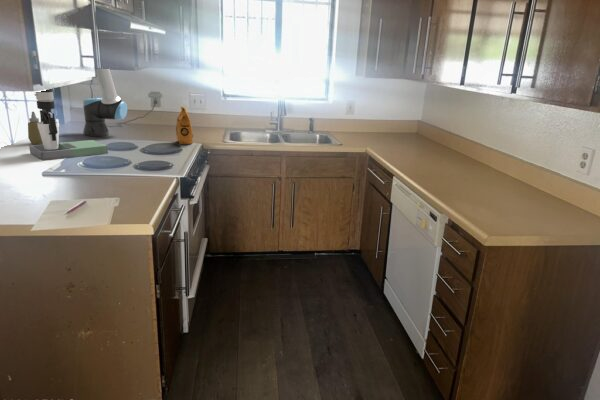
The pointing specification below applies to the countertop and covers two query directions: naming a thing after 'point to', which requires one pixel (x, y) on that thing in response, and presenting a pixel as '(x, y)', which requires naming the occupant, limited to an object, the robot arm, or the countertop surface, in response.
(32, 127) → the squeeze bottle
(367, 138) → the countertop surface
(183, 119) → the coffee package
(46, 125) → the foam cup
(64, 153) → the grey green tray
